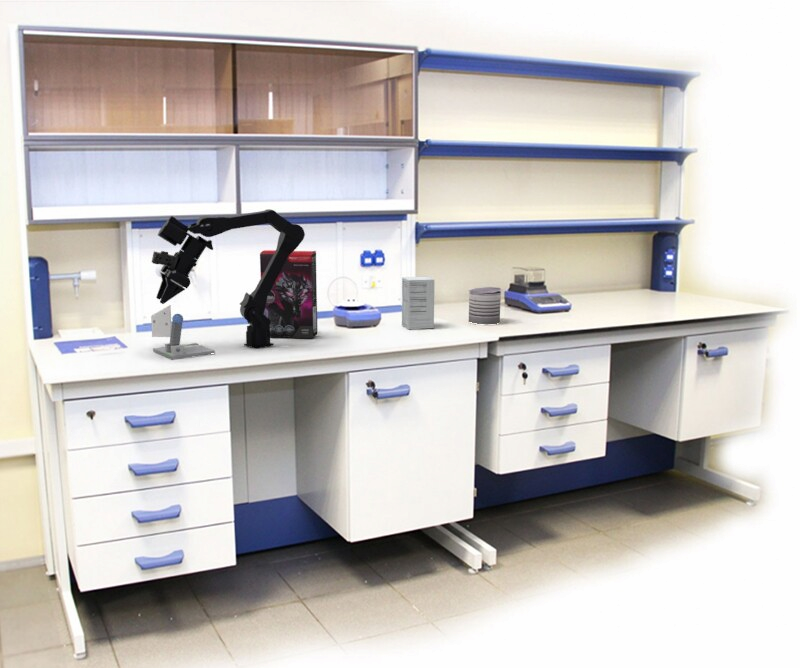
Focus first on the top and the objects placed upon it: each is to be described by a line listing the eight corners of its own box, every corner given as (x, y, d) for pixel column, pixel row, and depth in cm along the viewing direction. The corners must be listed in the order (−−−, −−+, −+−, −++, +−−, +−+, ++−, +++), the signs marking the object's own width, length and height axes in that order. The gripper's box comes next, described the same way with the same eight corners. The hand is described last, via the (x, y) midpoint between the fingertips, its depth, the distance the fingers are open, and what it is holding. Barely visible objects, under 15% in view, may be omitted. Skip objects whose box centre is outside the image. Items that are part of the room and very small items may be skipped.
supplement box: (434, 329, 285) (435, 279, 282) (407, 330, 283) (408, 280, 280) (426, 324, 294) (427, 276, 291) (401, 325, 292) (401, 276, 289)
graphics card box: (260, 337, 268) (258, 251, 263) (266, 333, 274) (264, 249, 269) (313, 339, 266) (312, 252, 261) (318, 335, 273) (317, 250, 267)
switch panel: (195, 346, 254) (194, 334, 253) (214, 353, 244) (214, 341, 243) (153, 351, 246) (152, 339, 245) (172, 359, 236) (171, 347, 235)
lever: (176, 349, 241) (181, 313, 240) (181, 351, 239) (185, 314, 238) (166, 348, 239) (171, 312, 238) (171, 350, 237) (175, 314, 236)
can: (503, 325, 294) (505, 290, 292) (471, 325, 293) (472, 291, 291) (496, 319, 306) (497, 286, 303) (465, 319, 304) (466, 286, 302)
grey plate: (184, 329, 268) (169, 305, 266) (157, 344, 268) (142, 321, 267) (186, 327, 271) (171, 303, 270) (159, 342, 272) (145, 319, 270)
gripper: (160, 237, 248) (131, 282, 248) (168, 242, 231) (137, 290, 231) (193, 257, 253) (165, 301, 252) (203, 263, 236) (173, 311, 235)
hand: (159, 300), depth 242 cm, fingers open, 9 cm apart
